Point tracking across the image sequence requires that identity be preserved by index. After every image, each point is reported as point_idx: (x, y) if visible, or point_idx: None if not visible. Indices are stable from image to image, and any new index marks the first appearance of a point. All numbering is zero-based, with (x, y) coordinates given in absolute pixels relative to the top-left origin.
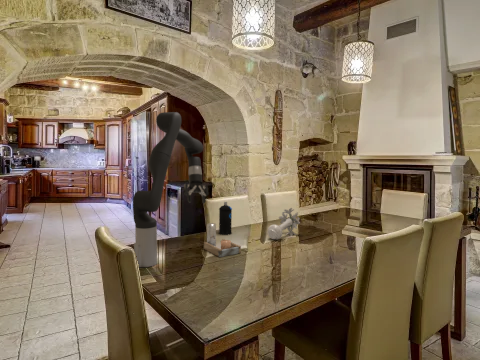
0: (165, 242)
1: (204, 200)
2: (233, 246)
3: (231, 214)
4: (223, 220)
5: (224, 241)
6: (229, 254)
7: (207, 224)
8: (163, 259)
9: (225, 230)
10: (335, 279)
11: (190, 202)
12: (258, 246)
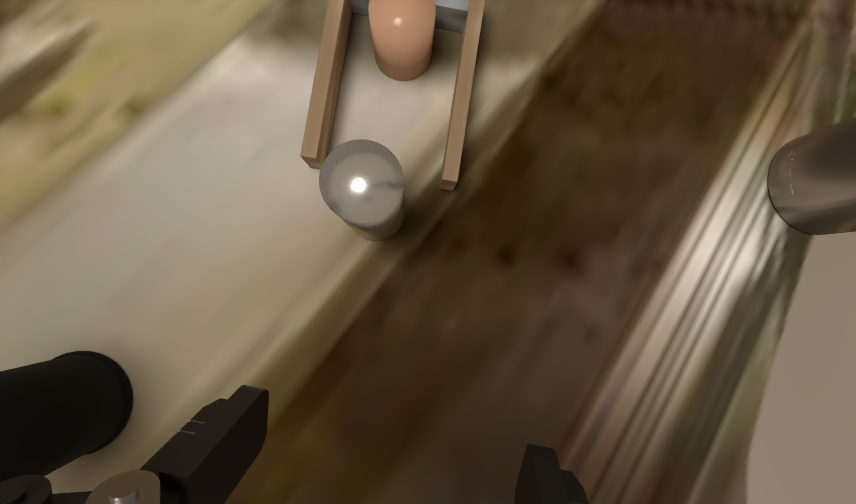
0: None
1: (235, 404)
2: (342, 30)
3: None
4: (21, 412)
5: (413, 11)
6: None
7: (399, 194)
8: (720, 187)
9: (87, 372)
10: None
11: (522, 464)
12: (163, 8)
